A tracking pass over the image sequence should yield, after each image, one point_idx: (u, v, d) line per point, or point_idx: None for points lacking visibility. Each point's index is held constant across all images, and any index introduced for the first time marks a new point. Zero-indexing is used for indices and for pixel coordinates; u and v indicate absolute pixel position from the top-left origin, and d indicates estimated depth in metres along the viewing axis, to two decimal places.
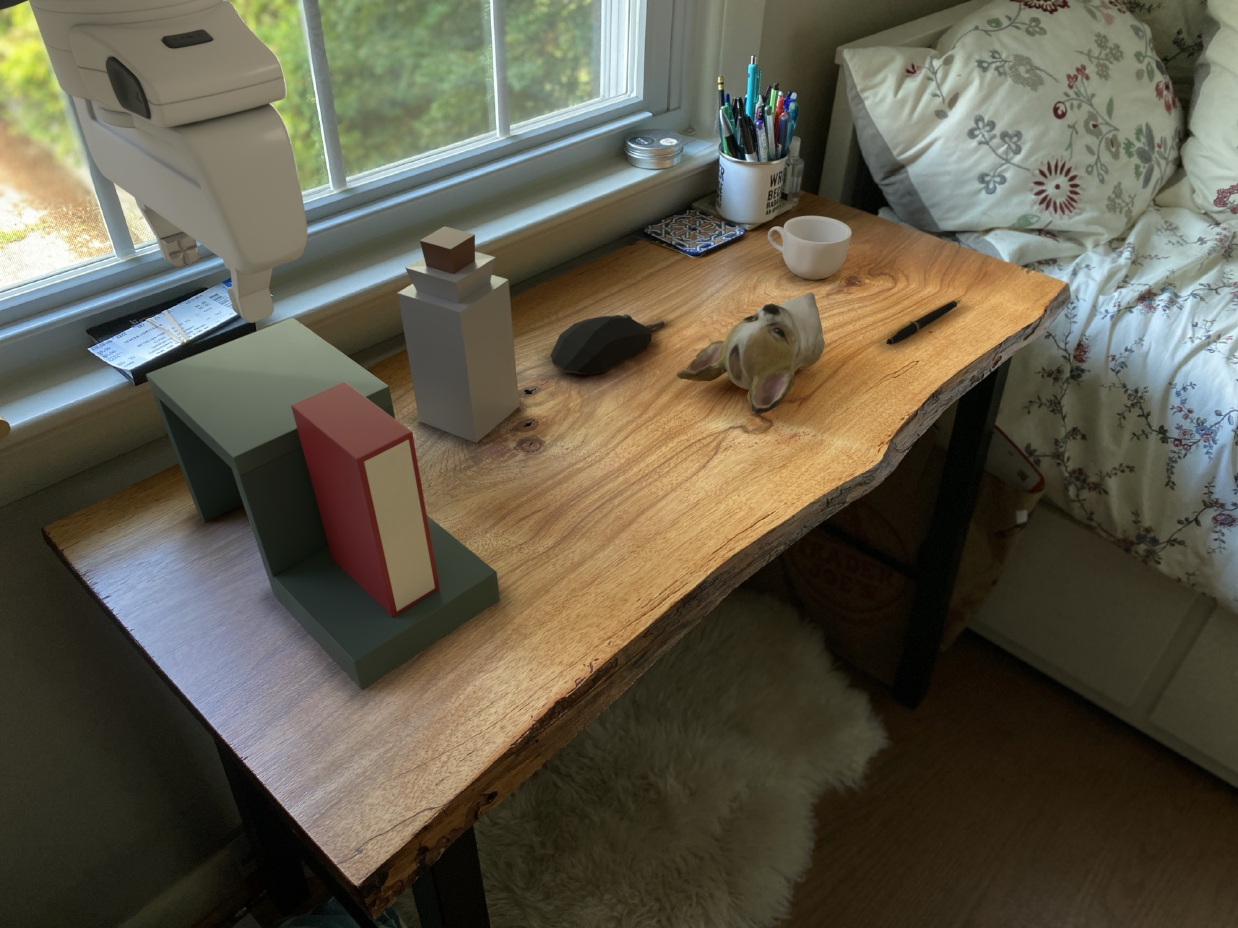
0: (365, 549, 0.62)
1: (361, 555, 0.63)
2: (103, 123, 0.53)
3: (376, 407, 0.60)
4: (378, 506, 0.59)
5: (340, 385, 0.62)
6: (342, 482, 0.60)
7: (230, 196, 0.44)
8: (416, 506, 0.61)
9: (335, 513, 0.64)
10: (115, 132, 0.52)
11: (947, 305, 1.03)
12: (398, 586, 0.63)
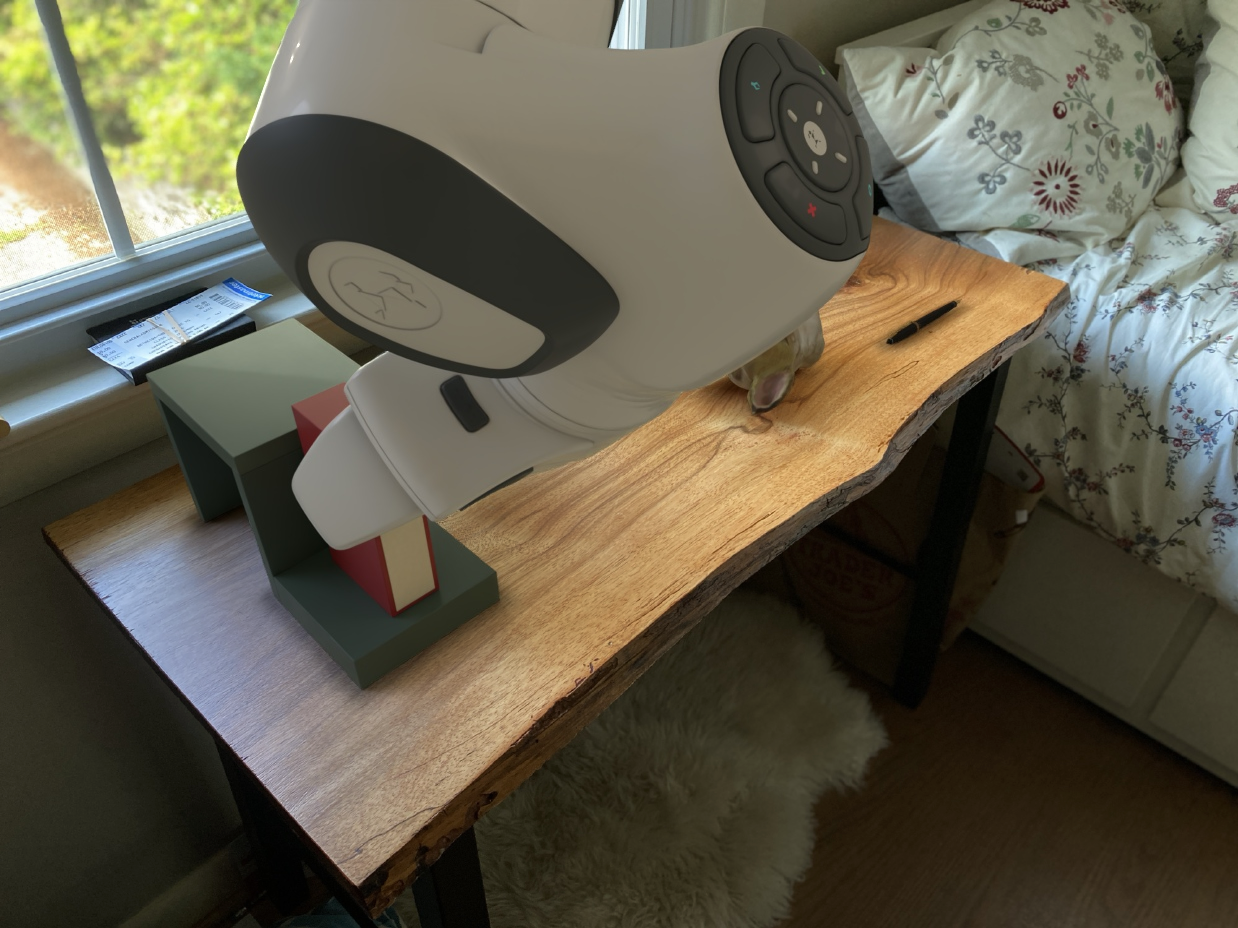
0: (365, 549, 0.62)
1: (361, 555, 0.63)
2: None
3: None
4: None
5: (340, 385, 0.62)
6: None
7: (314, 465, 0.37)
8: None
9: None
10: None
11: (947, 305, 1.03)
12: (398, 586, 0.63)
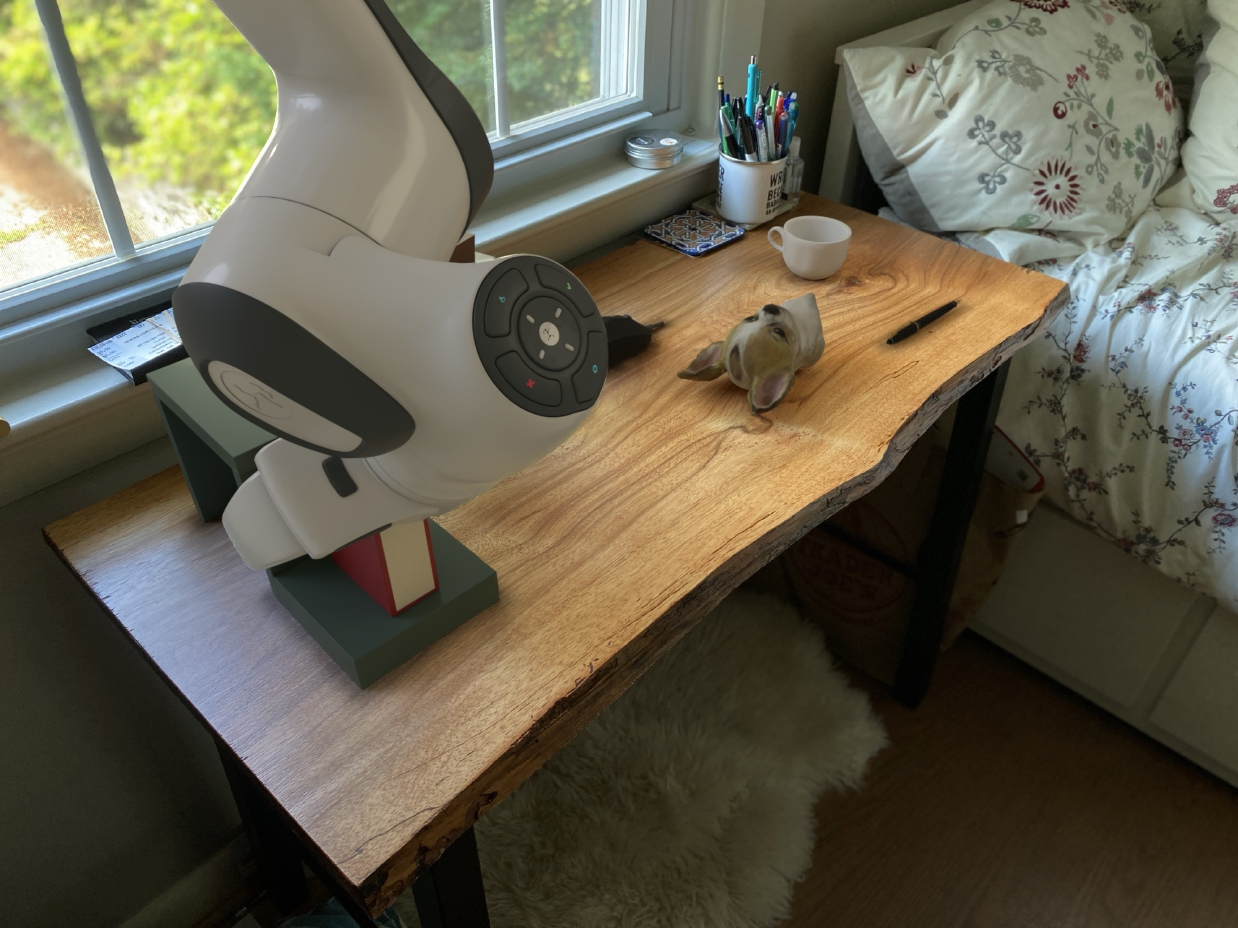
0: (365, 549, 0.62)
1: (361, 555, 0.63)
2: None
3: None
4: None
5: None
6: None
7: (235, 509, 0.50)
8: None
9: None
10: None
11: (947, 305, 1.03)
12: (398, 586, 0.63)
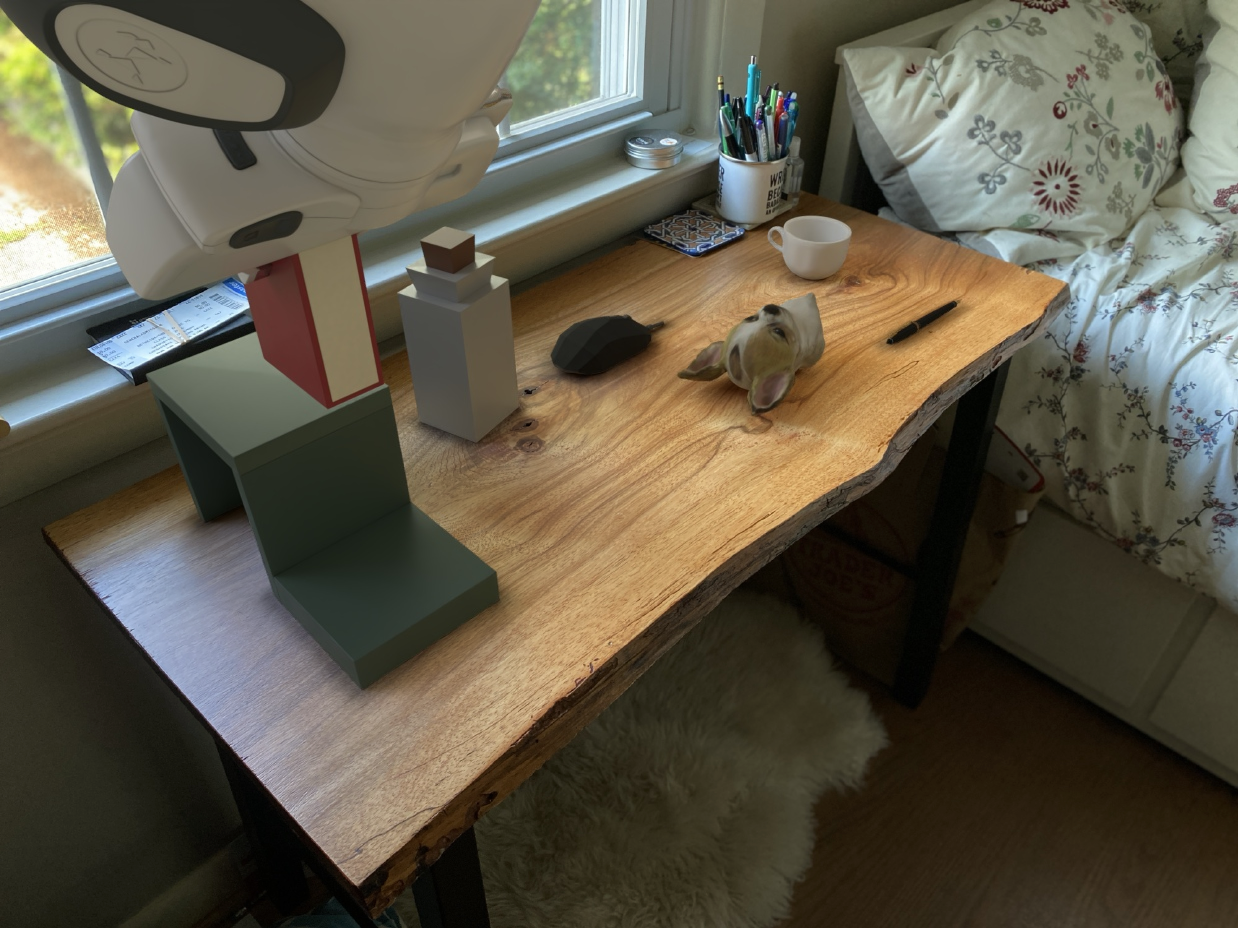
0: (293, 321, 0.53)
1: (290, 333, 0.55)
2: None
3: None
4: (304, 253, 0.50)
5: None
6: None
7: (115, 207, 0.42)
8: (352, 266, 0.52)
9: (260, 285, 0.55)
10: None
11: (947, 305, 1.03)
12: (333, 369, 0.55)
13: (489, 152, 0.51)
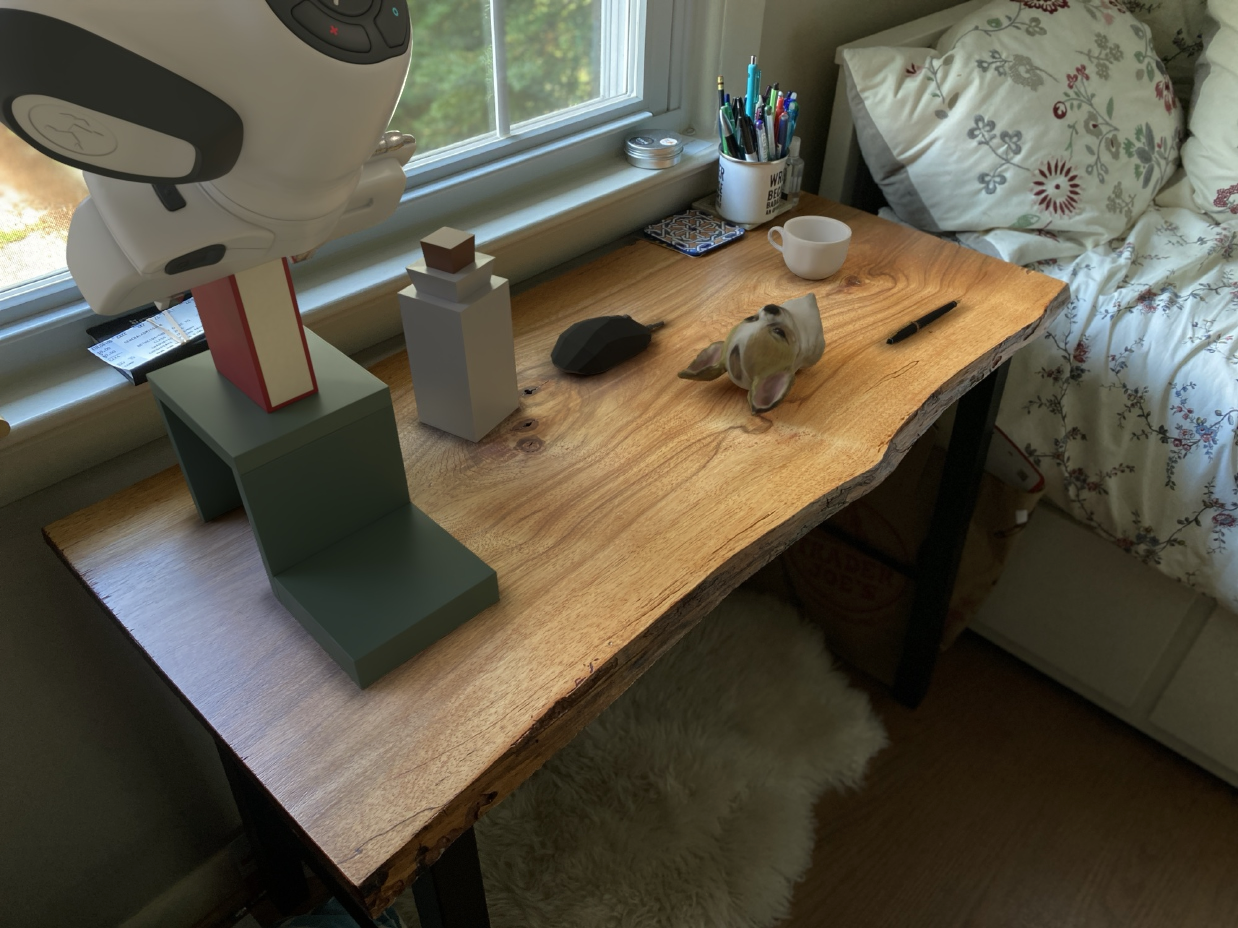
0: (236, 338, 0.62)
1: (234, 348, 0.64)
2: None
3: None
4: (241, 282, 0.59)
5: None
6: None
7: (72, 240, 0.50)
8: (285, 291, 0.61)
9: (208, 307, 0.64)
10: None
11: (947, 305, 1.03)
12: (271, 379, 0.64)
13: (398, 188, 0.59)
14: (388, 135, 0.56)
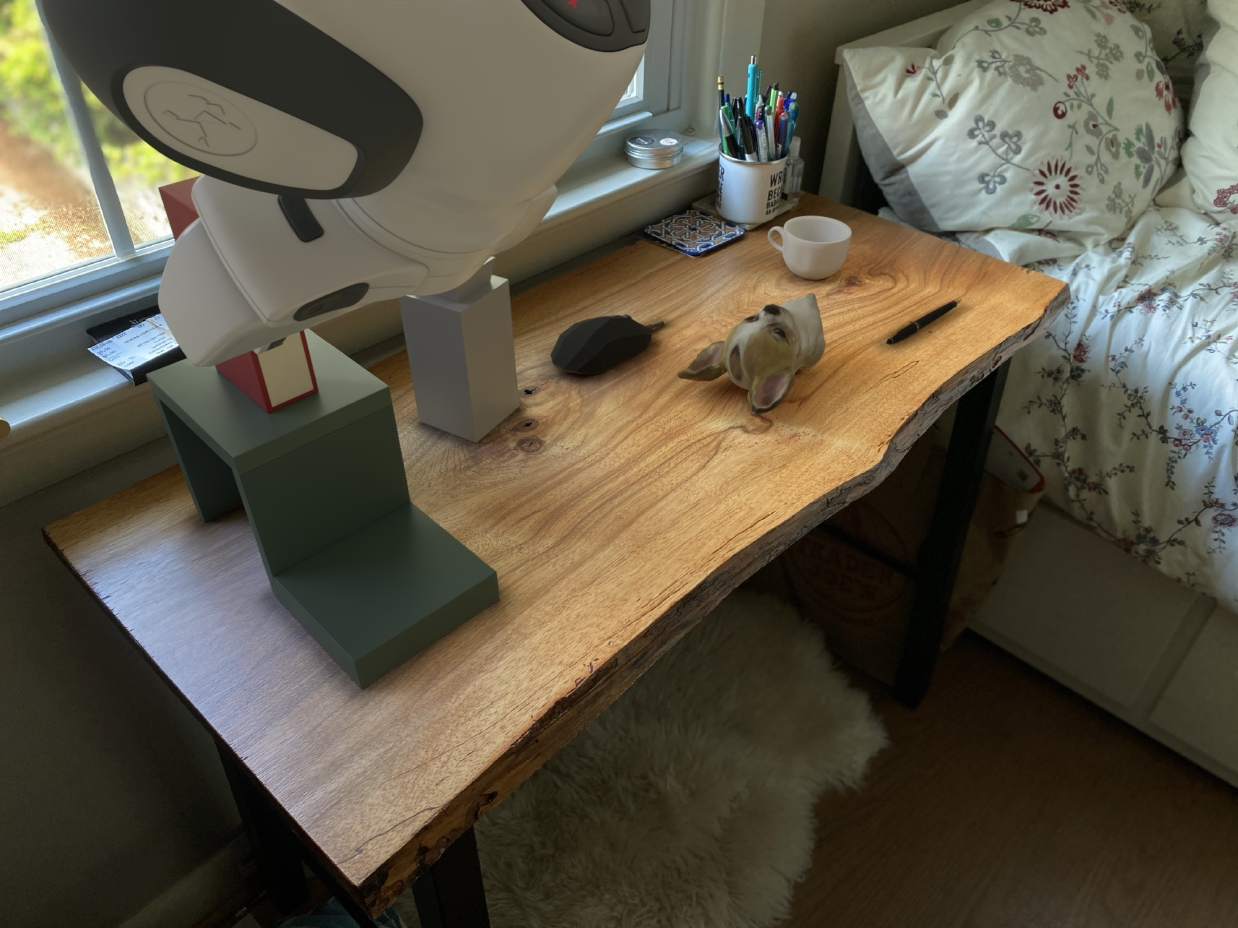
0: None
1: None
2: None
3: None
4: None
5: None
6: None
7: (171, 276, 0.40)
8: None
9: None
10: None
11: (947, 305, 1.03)
12: (271, 379, 0.64)
13: (546, 206, 0.49)
14: None
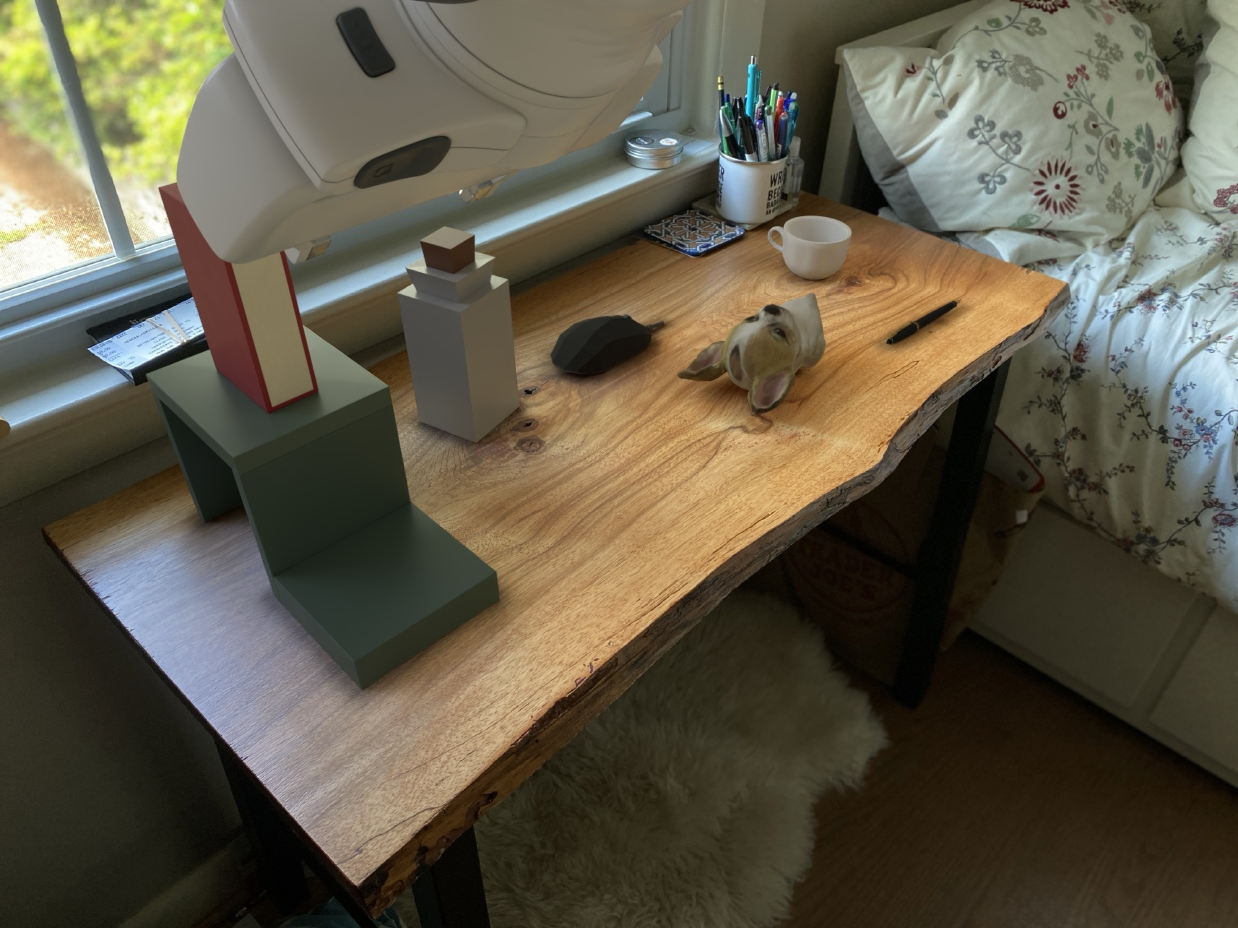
0: (236, 338, 0.62)
1: (234, 348, 0.64)
2: None
3: None
4: (241, 282, 0.59)
5: None
6: (208, 262, 0.60)
7: (194, 136, 0.31)
8: (285, 291, 0.61)
9: (208, 307, 0.64)
10: None
11: (947, 305, 1.03)
12: (271, 379, 0.64)
13: (648, 81, 0.40)
14: None
